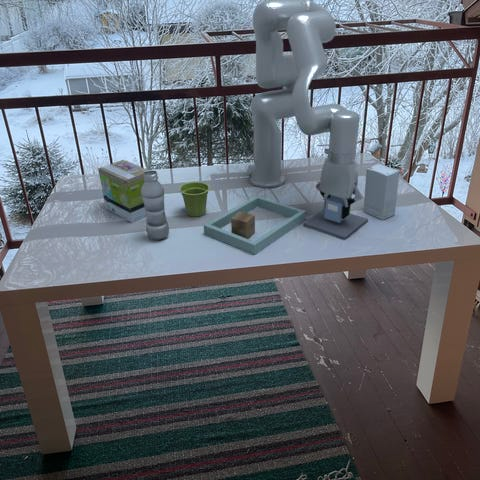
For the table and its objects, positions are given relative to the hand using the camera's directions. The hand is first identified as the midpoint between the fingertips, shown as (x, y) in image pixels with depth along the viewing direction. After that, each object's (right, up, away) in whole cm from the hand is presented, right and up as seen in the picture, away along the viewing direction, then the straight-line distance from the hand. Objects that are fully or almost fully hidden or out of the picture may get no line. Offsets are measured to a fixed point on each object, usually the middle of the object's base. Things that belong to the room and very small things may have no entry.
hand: (336, 213), depth 141 cm
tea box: (-64, +1, +12) cm, 65 cm away
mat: (0, -3, +2) cm, 3 cm away
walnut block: (-28, -6, -3) cm, 29 cm away
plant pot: (-43, +1, +10) cm, 44 cm away
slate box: (0, -1, 0) cm, 1 cm away
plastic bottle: (-53, -7, -3) cm, 53 cm away
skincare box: (+14, 0, +7) cm, 16 cm away
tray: (-24, -4, +1) cm, 24 cm away
